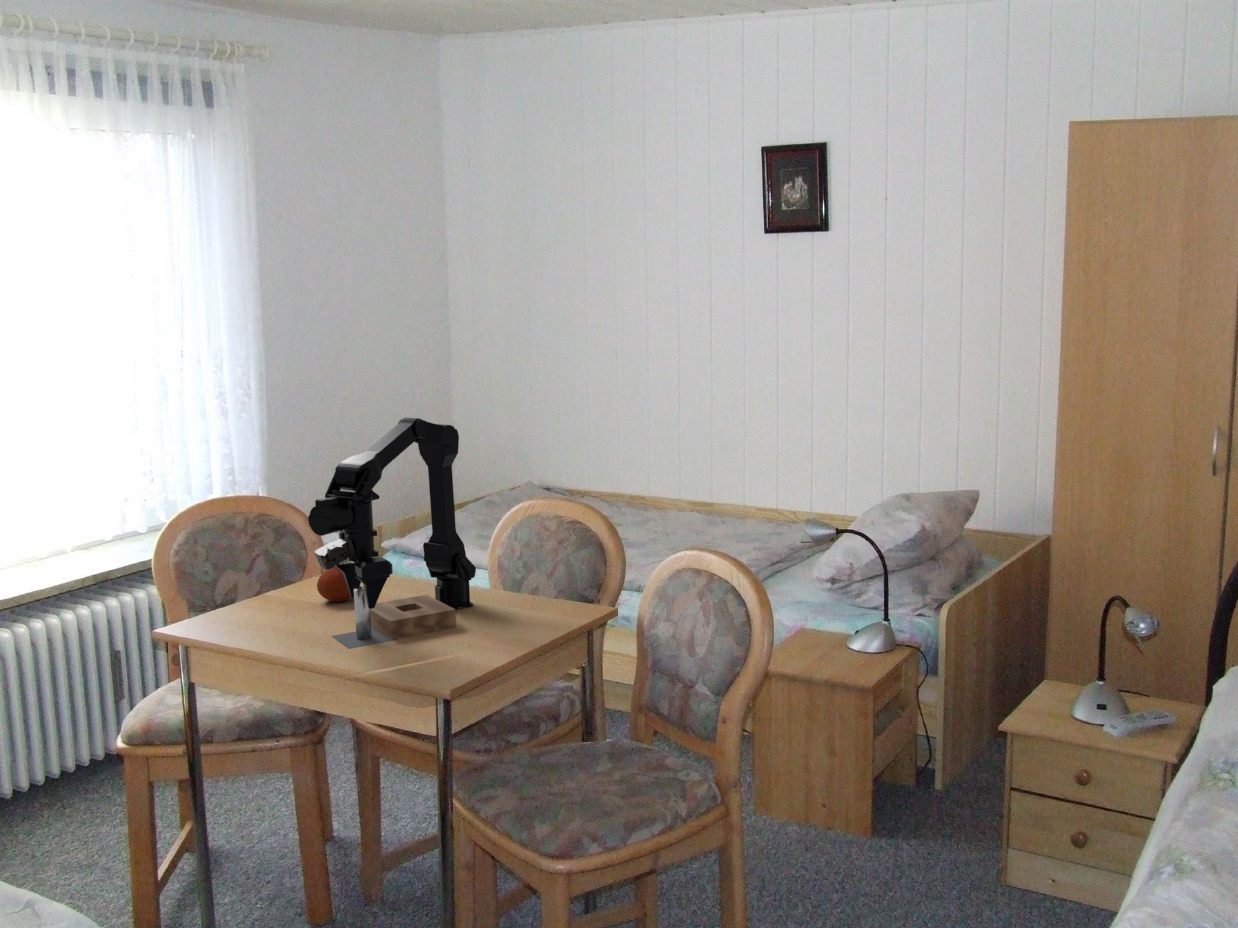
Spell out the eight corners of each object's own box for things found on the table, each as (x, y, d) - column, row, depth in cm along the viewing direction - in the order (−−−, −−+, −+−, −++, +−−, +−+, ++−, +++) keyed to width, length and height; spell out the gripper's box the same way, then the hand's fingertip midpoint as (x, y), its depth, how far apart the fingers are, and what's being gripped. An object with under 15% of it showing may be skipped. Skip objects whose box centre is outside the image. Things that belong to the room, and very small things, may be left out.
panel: (378, 629, 253) (378, 627, 253) (397, 641, 245) (397, 639, 245) (331, 637, 248) (330, 635, 248) (349, 650, 239) (348, 648, 239)
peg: (368, 634, 248) (365, 585, 247) (374, 638, 246) (371, 588, 244) (354, 637, 247) (351, 587, 245) (359, 640, 244) (356, 591, 242)
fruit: (319, 596, 279) (316, 561, 277) (359, 594, 280) (357, 559, 279) (316, 607, 270) (314, 571, 269) (358, 604, 272) (356, 568, 270)
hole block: (427, 612, 264) (426, 594, 263) (456, 628, 252) (455, 609, 252) (364, 624, 257) (363, 605, 256) (391, 640, 245) (390, 621, 244)
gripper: (302, 522, 246) (307, 599, 249) (334, 539, 230) (339, 621, 233) (355, 515, 252) (360, 590, 254) (391, 531, 236) (395, 611, 239)
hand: (362, 603), depth 245 cm, fingers open, 9 cm apart
